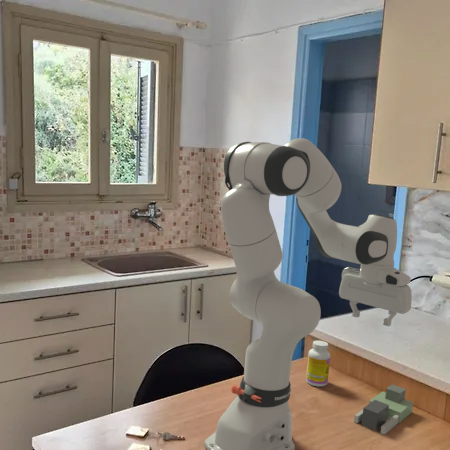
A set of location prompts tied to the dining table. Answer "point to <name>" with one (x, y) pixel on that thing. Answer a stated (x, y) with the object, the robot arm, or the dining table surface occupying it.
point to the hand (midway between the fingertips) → (371, 320)
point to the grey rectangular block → (375, 415)
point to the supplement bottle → (318, 364)
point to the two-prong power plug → (391, 407)
